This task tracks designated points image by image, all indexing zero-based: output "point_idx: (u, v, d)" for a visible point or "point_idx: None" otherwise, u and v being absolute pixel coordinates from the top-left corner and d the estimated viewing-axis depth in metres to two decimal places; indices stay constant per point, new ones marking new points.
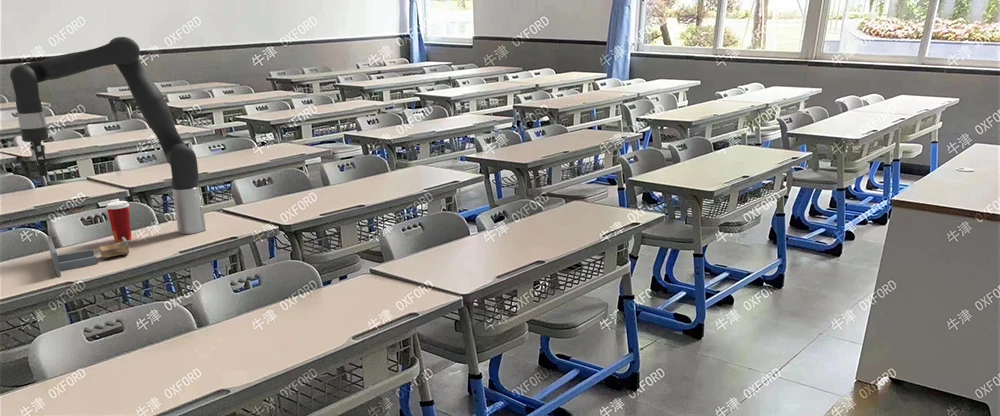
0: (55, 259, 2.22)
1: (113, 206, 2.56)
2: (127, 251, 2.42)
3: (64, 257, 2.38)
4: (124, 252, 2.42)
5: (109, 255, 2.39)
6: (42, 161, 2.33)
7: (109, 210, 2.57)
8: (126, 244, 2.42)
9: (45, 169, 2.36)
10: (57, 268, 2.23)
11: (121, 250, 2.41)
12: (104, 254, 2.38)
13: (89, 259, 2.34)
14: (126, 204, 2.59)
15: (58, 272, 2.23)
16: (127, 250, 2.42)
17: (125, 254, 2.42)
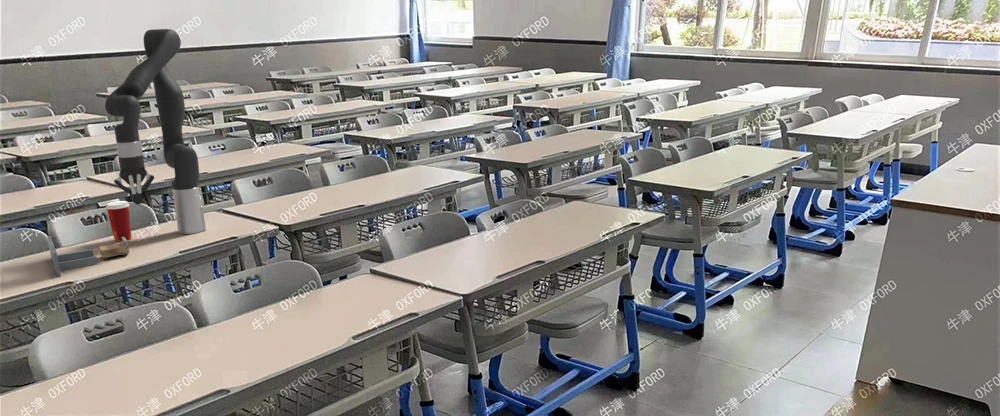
0: (55, 259, 2.22)
1: (113, 206, 2.56)
2: (127, 251, 2.42)
3: (64, 257, 2.38)
4: (124, 252, 2.42)
5: (109, 255, 2.39)
6: None
7: (109, 210, 2.57)
8: (126, 244, 2.42)
9: None
10: (57, 268, 2.23)
11: (121, 250, 2.41)
12: (104, 254, 2.38)
13: (89, 259, 2.34)
14: (126, 204, 2.59)
15: (58, 272, 2.23)
16: (127, 250, 2.42)
17: (125, 254, 2.42)
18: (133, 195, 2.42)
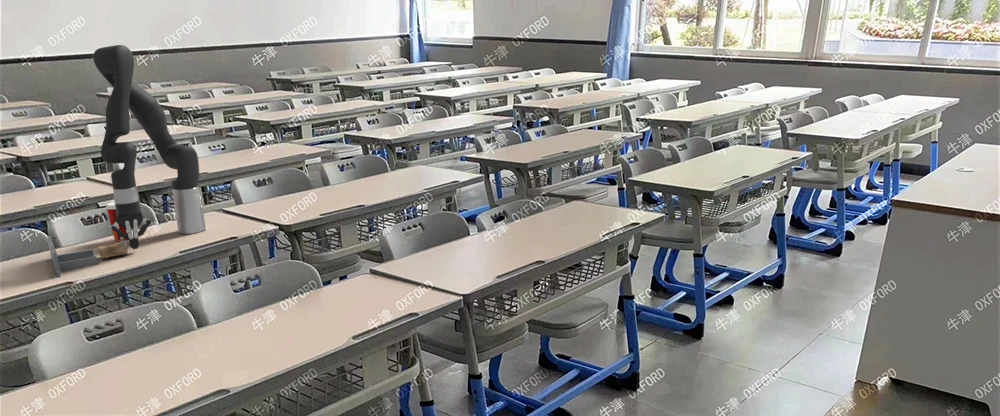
0: (55, 259, 2.22)
1: (113, 206, 2.56)
2: (126, 251, 2.42)
3: (64, 257, 2.38)
4: (123, 252, 2.42)
5: (108, 255, 2.39)
6: None
7: (109, 210, 2.57)
8: (125, 244, 2.42)
9: None
10: (57, 268, 2.23)
11: (119, 250, 2.41)
12: (103, 254, 2.38)
13: (89, 259, 2.34)
14: None
15: (58, 272, 2.23)
16: (126, 250, 2.42)
17: (124, 254, 2.42)
18: (130, 240, 2.44)
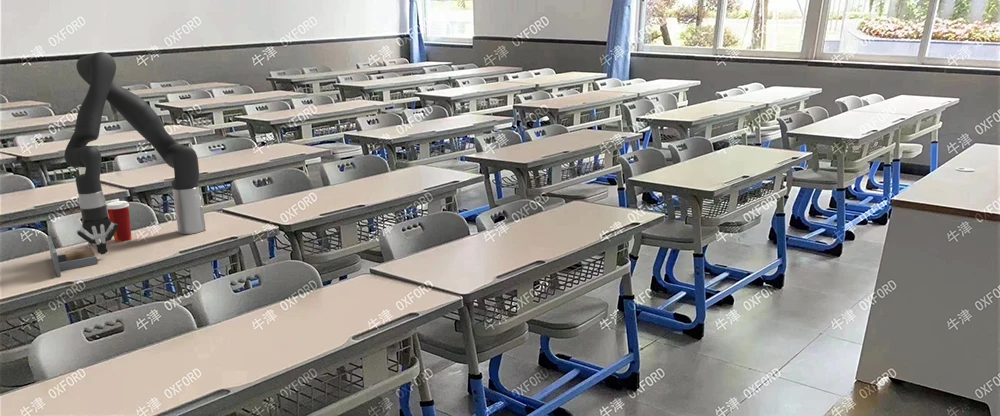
0: (55, 259, 2.22)
1: (113, 206, 2.56)
2: None
3: (64, 257, 2.38)
4: None
5: None
6: None
7: (109, 210, 2.57)
8: (92, 250, 2.36)
9: None
10: (57, 268, 2.23)
11: (86, 256, 2.36)
12: (69, 260, 2.33)
13: (89, 259, 2.34)
14: (126, 204, 2.59)
15: (58, 272, 2.23)
16: (93, 256, 2.37)
17: None
18: (97, 245, 2.39)
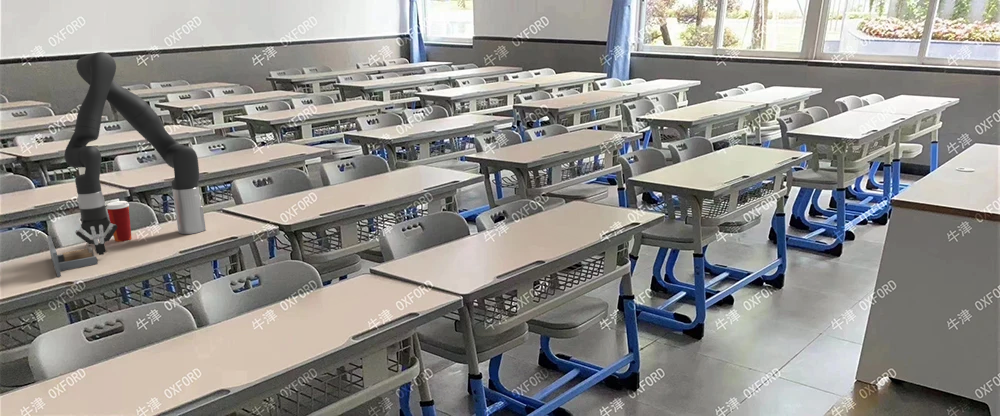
0: (55, 259, 2.22)
1: (113, 206, 2.56)
2: None
3: None
4: None
5: None
6: None
7: (109, 210, 2.57)
8: (90, 250, 2.36)
9: None
10: (57, 268, 2.23)
11: (84, 256, 2.35)
12: (67, 260, 2.33)
13: (89, 259, 2.34)
14: (126, 204, 2.59)
15: (58, 272, 2.23)
16: (91, 256, 2.37)
17: None
18: (96, 246, 2.39)
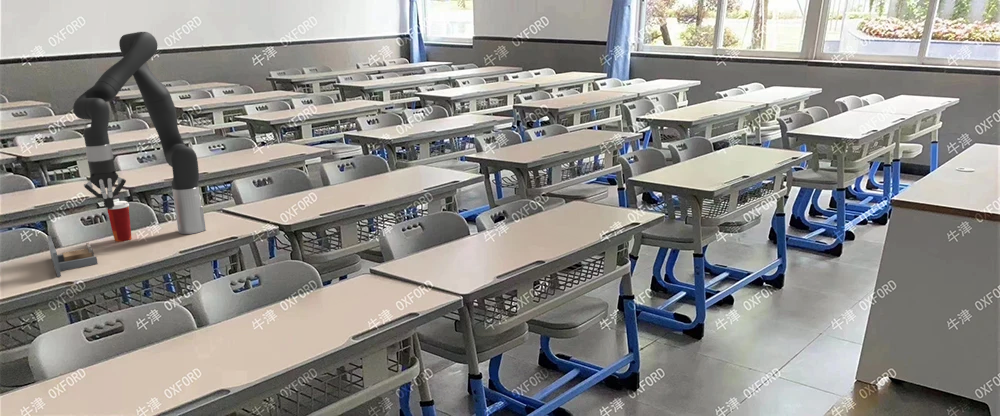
0: (55, 259, 2.22)
1: None
2: None
3: None
4: None
5: None
6: None
7: (109, 210, 2.57)
8: (90, 250, 2.36)
9: None
10: (57, 268, 2.23)
11: (84, 256, 2.35)
12: (67, 260, 2.33)
13: (89, 259, 2.34)
14: (126, 204, 2.59)
15: (58, 272, 2.23)
16: (91, 256, 2.37)
17: None
18: (104, 199, 2.37)
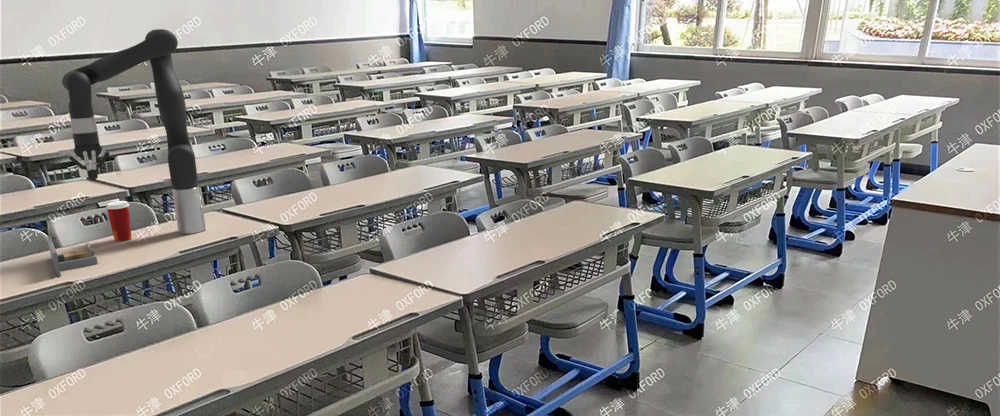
0: (55, 259, 2.22)
1: (113, 206, 2.56)
2: None
3: None
4: None
5: None
6: None
7: (109, 210, 2.57)
8: (90, 250, 2.36)
9: None
10: (57, 268, 2.23)
11: (84, 256, 2.35)
12: (67, 260, 2.33)
13: (89, 259, 2.34)
14: (126, 204, 2.59)
15: (58, 272, 2.23)
16: (91, 256, 2.37)
17: None
18: (88, 171, 2.44)
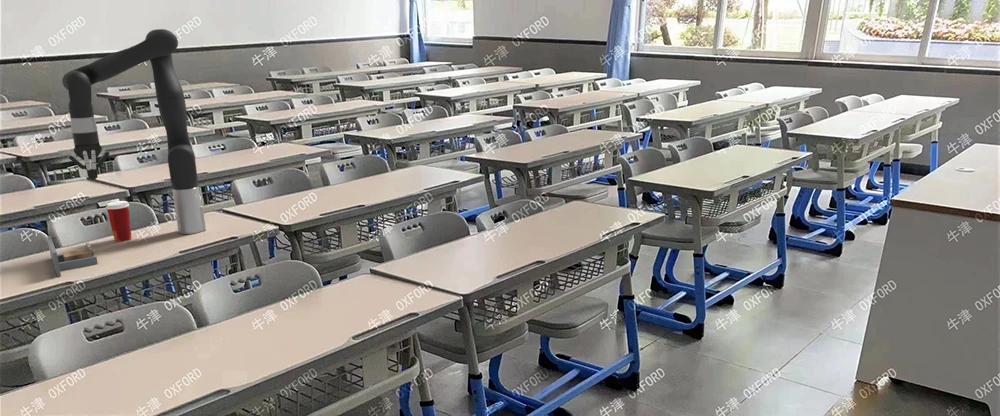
0: (55, 259, 2.22)
1: (113, 206, 2.56)
2: None
3: None
4: None
5: None
6: None
7: (109, 210, 2.57)
8: (90, 250, 2.36)
9: None
10: (57, 268, 2.23)
11: (84, 256, 2.35)
12: (67, 260, 2.33)
13: (89, 259, 2.34)
14: (126, 204, 2.59)
15: (58, 272, 2.23)
16: (91, 256, 2.37)
17: None
18: (88, 171, 2.44)
